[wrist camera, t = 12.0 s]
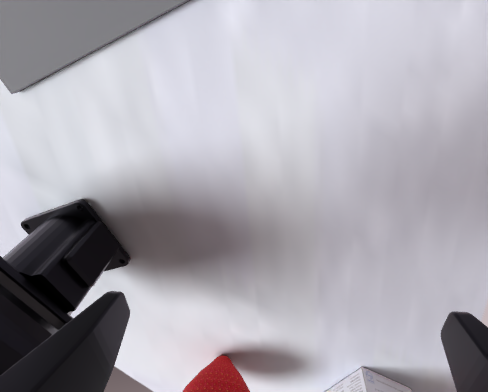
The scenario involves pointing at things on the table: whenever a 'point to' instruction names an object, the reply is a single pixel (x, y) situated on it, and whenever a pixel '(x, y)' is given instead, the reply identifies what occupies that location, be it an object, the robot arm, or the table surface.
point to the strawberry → (218, 378)
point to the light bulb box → (368, 383)
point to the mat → (64, 33)
